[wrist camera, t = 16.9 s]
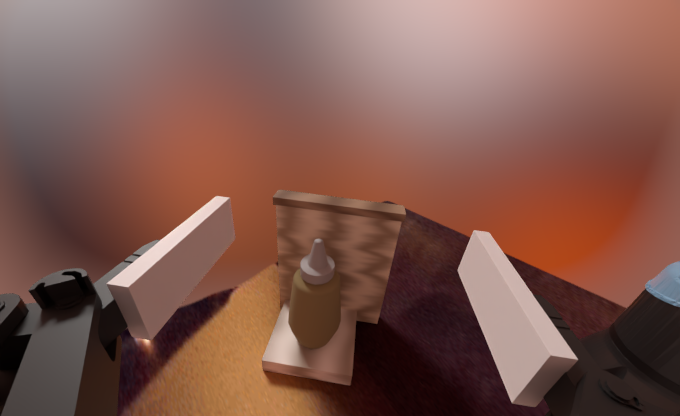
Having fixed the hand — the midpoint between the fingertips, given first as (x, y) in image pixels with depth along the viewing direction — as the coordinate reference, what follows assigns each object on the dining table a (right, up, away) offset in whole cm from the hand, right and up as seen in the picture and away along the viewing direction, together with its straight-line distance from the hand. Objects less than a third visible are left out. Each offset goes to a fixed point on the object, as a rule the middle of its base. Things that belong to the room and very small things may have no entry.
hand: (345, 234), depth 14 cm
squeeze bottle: (-4, -19, +27) cm, 33 cm away
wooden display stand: (-3, -20, +29) cm, 36 cm away
